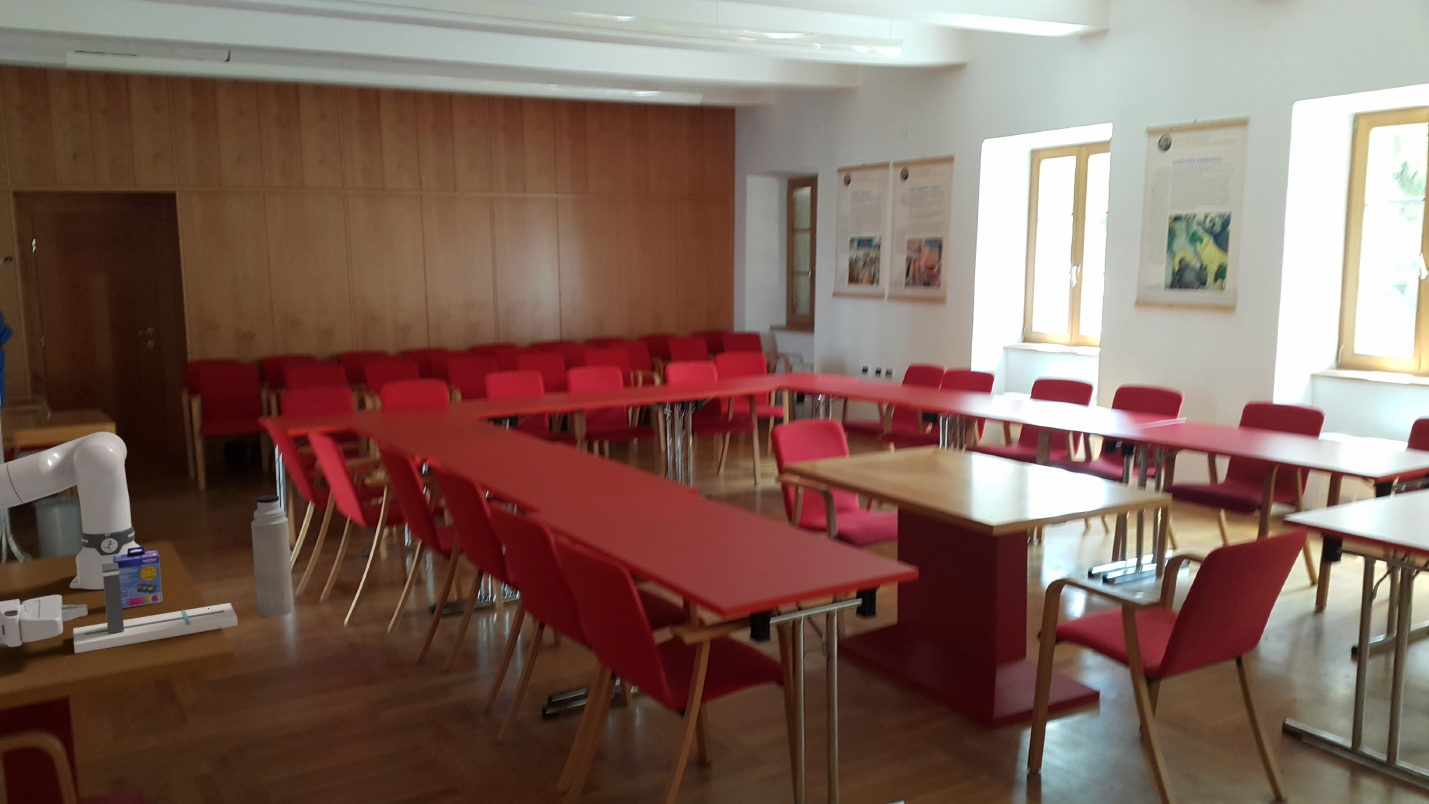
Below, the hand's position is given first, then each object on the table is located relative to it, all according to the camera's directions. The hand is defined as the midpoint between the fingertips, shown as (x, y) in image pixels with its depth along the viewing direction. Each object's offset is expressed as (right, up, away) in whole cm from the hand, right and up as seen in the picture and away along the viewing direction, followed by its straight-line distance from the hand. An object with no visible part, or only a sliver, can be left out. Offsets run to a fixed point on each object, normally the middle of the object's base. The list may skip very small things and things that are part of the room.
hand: (87, 609), depth 230 cm
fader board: (+11, -7, +9) cm, 15 cm away
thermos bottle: (+32, -5, +21) cm, 39 cm away
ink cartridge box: (-4, -4, +29) cm, 29 cm away
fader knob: (+4, -5, +4) cm, 7 cm away
